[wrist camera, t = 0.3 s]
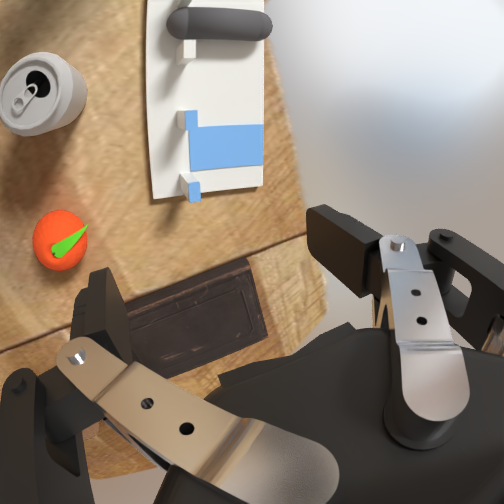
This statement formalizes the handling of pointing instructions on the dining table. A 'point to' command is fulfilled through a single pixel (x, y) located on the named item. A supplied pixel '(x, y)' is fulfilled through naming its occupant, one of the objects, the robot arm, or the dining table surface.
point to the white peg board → (203, 106)
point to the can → (41, 94)
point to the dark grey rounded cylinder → (218, 24)
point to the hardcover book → (196, 320)
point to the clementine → (60, 240)
